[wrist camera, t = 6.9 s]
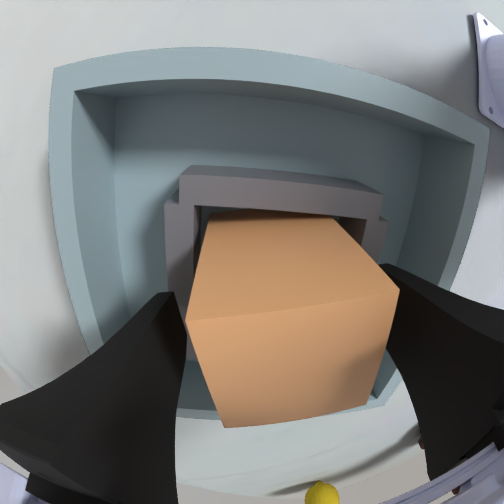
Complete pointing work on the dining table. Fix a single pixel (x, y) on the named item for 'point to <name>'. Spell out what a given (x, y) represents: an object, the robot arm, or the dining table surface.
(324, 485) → the lemon
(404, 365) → the robot arm
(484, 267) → the dining table surface
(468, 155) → the socket box
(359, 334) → the plug
